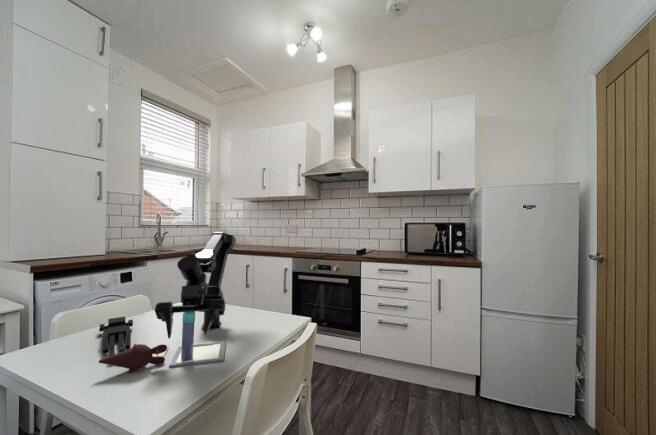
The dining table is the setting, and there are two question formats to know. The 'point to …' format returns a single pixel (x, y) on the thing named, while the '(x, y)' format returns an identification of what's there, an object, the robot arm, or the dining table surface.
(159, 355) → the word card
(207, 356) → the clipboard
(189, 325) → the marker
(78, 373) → the dining table surface
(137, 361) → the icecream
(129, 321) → the toy
